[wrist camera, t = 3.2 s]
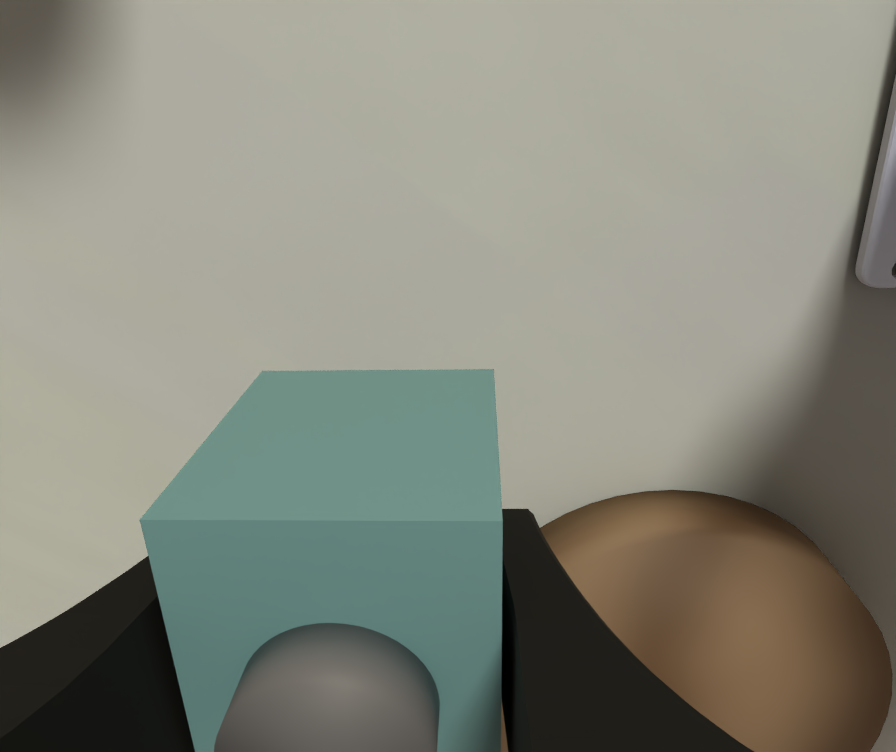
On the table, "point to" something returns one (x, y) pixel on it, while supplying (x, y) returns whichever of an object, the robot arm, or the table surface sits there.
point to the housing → (339, 566)
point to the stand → (732, 616)
